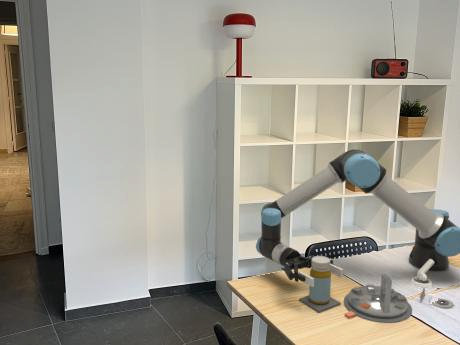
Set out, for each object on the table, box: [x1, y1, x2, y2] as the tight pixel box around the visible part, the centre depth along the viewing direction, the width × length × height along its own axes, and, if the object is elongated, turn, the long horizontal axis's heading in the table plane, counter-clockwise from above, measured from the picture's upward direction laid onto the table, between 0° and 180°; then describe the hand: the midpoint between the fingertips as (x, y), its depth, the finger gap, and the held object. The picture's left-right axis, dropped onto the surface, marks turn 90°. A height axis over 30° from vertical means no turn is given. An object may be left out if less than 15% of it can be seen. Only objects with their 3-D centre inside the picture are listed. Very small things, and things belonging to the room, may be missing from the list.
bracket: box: [419, 288, 455, 309], centre depth 152 cm, size 7×10×4 cm, turn 57°
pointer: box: [344, 311, 357, 320], centre depth 144 cm, size 3×2×1 cm, turn 122°
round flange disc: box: [348, 274, 409, 319], centre depth 149 cm, size 19×19×13 cm
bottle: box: [308, 255, 332, 305], centre depth 151 cm, size 7×7×15 cm
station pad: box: [298, 294, 342, 314], centre depth 153 cm, size 10×10×1 cm
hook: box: [410, 259, 434, 289], centre depth 166 cm, size 8×12×7 cm
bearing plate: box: [343, 293, 413, 324], centre depth 151 cm, size 22×22×1 cm
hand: (328, 278), depth 148 cm, fingers open, 12 cm apart
